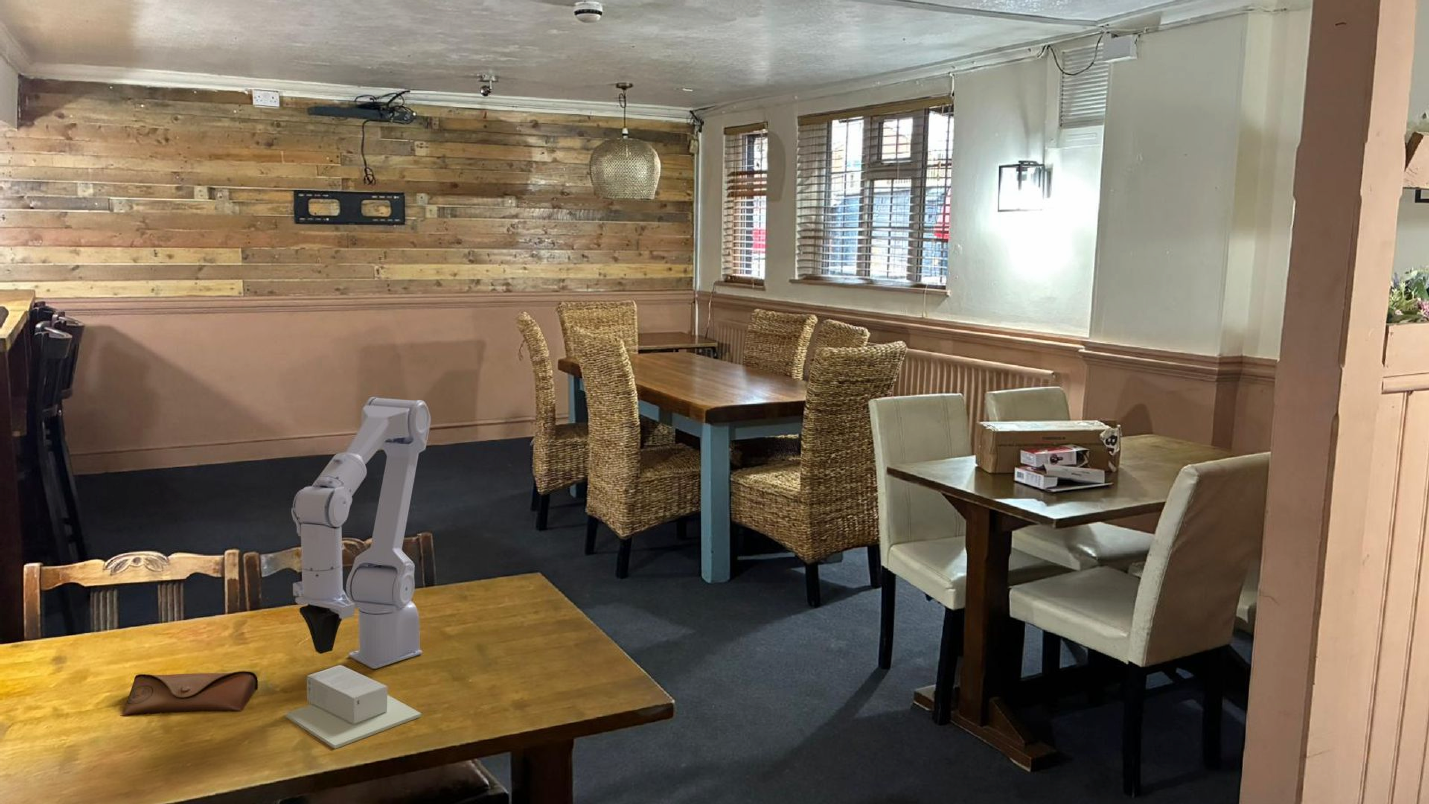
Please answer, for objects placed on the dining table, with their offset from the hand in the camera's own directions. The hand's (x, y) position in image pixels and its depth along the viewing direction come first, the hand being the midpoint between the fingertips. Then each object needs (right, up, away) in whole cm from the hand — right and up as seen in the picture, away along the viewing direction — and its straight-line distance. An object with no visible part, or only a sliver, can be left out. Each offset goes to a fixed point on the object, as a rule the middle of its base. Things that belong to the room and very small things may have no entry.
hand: (324, 651), depth 160 cm
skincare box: (-1, -5, +1) cm, 5 cm away
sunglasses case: (-20, -8, -1) cm, 22 cm away
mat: (+6, -9, -4) cm, 11 cm away
